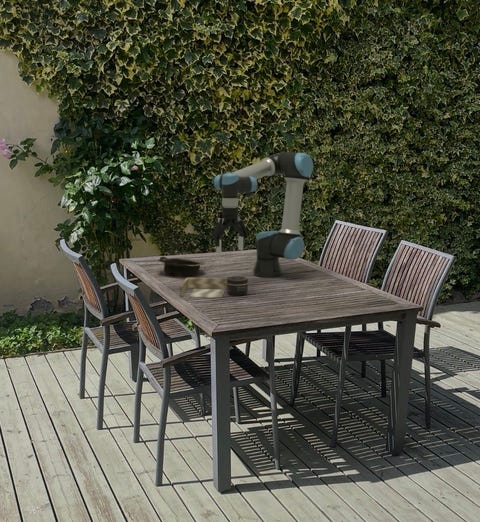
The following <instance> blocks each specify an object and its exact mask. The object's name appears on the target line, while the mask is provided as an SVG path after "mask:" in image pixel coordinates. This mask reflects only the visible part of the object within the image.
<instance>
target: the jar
mask: <svg viewBox="0 0 480 522" xmlns="http://www.w3.org/2000/svg"><path fill="white" fill-rule="evenodd" d="M248 284H249V278H248V277H246V276H242V275H241V276H239V275H237V276H229V277H227V289H226V293H227V294H228V295H229V296H233V297H242V296H246V295H247V294H248V290H249V285H248Z"/></svg>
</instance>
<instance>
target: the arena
mask: <svg viewBox="0 0 480 522" xmlns="http://www.w3.org/2000/svg"><path fill="white" fill-rule="evenodd" d="M227 278H228V277H227ZM227 278H224V277H220V278H218V277H186V278H184V280H183V282H182V283H181V284H180V286H179V298H183V297H184V295H185V294H186V292H187V291H188V290H189V289H193V290H192V292H191V293H190V295H189V298H202V297H205V299H206V298H209V299H212V298H213V299H215V298H216V299H222V298H223V296H224V294H225V292H226V290H227ZM186 290H187V291H186ZM184 293H185V294H184ZM182 296H183V297H182Z"/></svg>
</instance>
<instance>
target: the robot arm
mask: <svg viewBox="0 0 480 522" xmlns="http://www.w3.org/2000/svg"><path fill="white" fill-rule="evenodd" d="M313 171H314V162H313V158H312V157H311V156H310V155H309V154H308V153H305V152H304V153H303V152H290V151H289V152H287V151H282V152H278V153H274V154H272V155H269V156H266V157H264V158H262V159H261V161H259V162H256V163H253V164H251V165H249V166H245V167H244V168H240V169H238V170H236V171H233V172H230V173H223V174H218V175H216V176H215V177H214V178H213V185H214V188H215V189H216V190H218V191H221V193H222V194H221V206H222V208H221V215H222V217H221V218H220V217H217V219H216V224H215V227H214V229H213V233H212V234H211V239H214V242H215V243H214V244H215V247H216V252H215V253H216V254H220V255H221V254H222V239H221V238H222V237H223V235H224V233H225V231H226V230H227V229H228V228H234V229H235V231H236V232H237V233H238V235H239V236H238V238H237V239H238V240H237V241H238V243H237V246H238V248H237V249H238V251H244V243H245V238H246V236H248V234H249V233H248V230H247V228H246V226H245V223H244V217H243V216H242V215H239V207H238V206H239V194H245V193H247V194H248V193H249V194H250V193H252V192H255V191H256V190H257V188H258V181H257V180H259V179H261V178H264V177H265V176H268V177H271V176H275V175H283V177H284V178H283V179H284V181H286V184H285V185H286V186H285V187H286V188H285V195H284V205H283V214H282V221H281V229H279V230H269V231H268V230H267V231H260V232H258V233H257V234H256V261H255V264H254V268H253V269H252V271H253V272H252V273H253V274H252V275H253V276H255V277H259V278H277V277H281V276H282V274H283V270H282V268H281V267H282V266H281V265H280V261H279V259H280V258H281V259H286V260H297V259H299V258H300V256H302V254H303V252H304V249H305V242H304V239H303V238H302V237H301V236H302V234H301V232H300V231H299V227H300V218H301V210H302V202H303V201H302V200H303V190H304V184H305V183H306V182H307V181H308V177H310V176H311V175H312V174H313Z"/></svg>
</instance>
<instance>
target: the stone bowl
mask: <svg viewBox="0 0 480 522" xmlns="http://www.w3.org/2000/svg"><path fill="white" fill-rule="evenodd" d="M159 262H160V263H164V265H163V272H164V274H165V276H176V275H178V274H180V276H181V277H183V276H185V277H186V278H188V277H190V276H191V277H192V276H195V275H197V274H198V272H199V270H200V268H201V266H205V265H206V262H204V261H201V260H196V259H189V258H183V257H181V258H180V257H175V258H174V257H171V258H168V257H166V256H160V257H159V260H158V263H159ZM175 274H176V275H175ZM187 276H188V277H187ZM185 277H184V278H185Z"/></svg>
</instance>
